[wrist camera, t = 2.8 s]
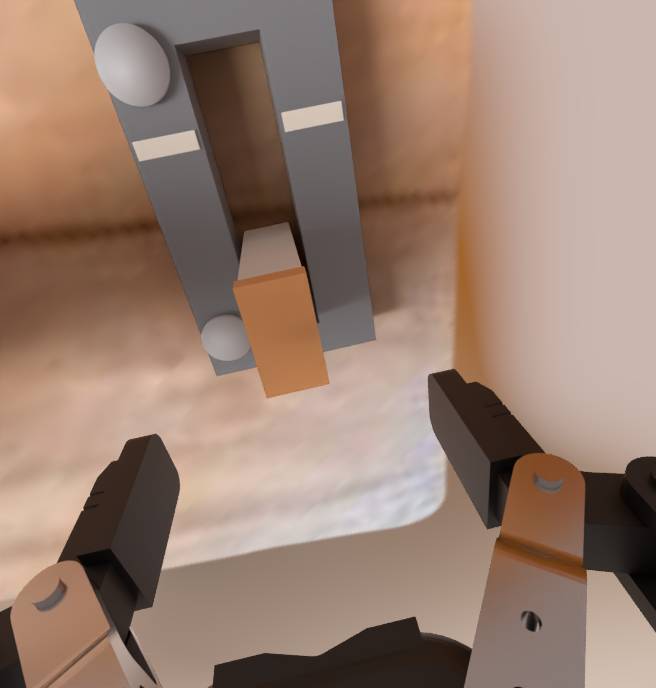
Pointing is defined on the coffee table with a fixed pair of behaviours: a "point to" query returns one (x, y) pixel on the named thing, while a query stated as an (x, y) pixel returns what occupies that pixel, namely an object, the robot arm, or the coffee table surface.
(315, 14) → the console
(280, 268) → the fader tab
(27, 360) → the coffee table surface
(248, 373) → the coffee table surface
